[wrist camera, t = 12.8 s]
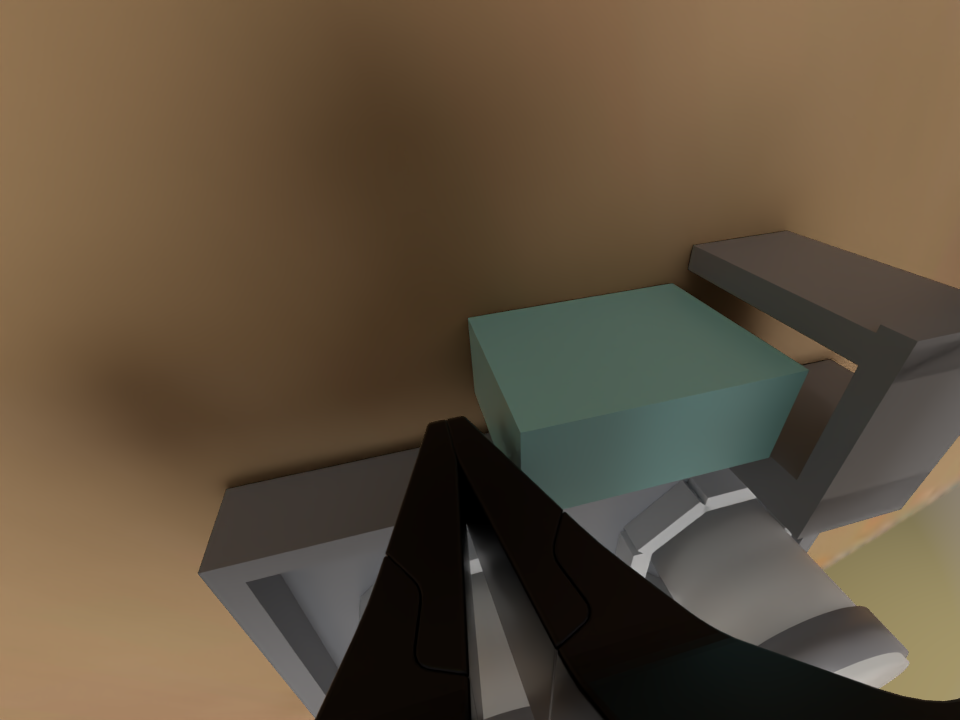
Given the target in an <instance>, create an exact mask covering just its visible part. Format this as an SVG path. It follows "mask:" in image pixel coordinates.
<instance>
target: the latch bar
mask: <svg viewBox="0 0 960 720" xmlns="http://www.w3.org/2000/svg"><path fill="white" fill-rule="evenodd" d="M468 325H469V336H470V347H471V358H472V369H473V380H474V391H475V395H476V397H477V400H478V403H479V405H480V408H481V411H482V414H483V416H484V419H485V422H486V424H487V427H488V430H489V433H490V435H491V438H492V441H493V443H494V445H495V446H496V447H497V448H499V449H500V450H501V451H502V452H503V453H504V454H505V455H506V456H507V457H508V458H509V459H510V460H511V461H512V462H513V463H514V464H515V465H517V466H518V467H519V468H520V469H521V470H522V471H523V472H524V473H525V474H526V475H527V476H528V477H529V478H530V479H531V480H532V481H533V482H535V483H536V484H537V485H538V486H539V487H540V488H541V489H542V490H543V491H544V492H545V493H546V494H547V495H548V496H549V497H550V498H552V499H553V500H554V501H555V502H556V503H557V504H558V505H559V506H560V507H561V508H562V509H567V508H571V507H575V506H579V505H583V504H587V503H591V502H595V501H599V500H603V499H607V498H611V497H615V496H619V495H623V494H627V493H631V492H635V491H639V490H643V489H646V488H650V487H654V486H658V485H662V484H666V483H670V482H674V481H678V480H682V479H686V478H690V477H694V476H698V475H702V474H706V473H710V472H714V471H718V470H722V469H726V468H730V467H734V466H738V465H742V464H746V463H750V462H754V461H758V460H762V459H766V458H769V456H770V454H771V452H772V450H773V448H774V445H775V443H776V441H777V439H778V437H779V435H780V432H781V430H782V428H783V426H784V424H785V422H786V419H787V417H788V415H789V413H790V411H791V409H792V406H793V404H794V402H795V400H796V398H797V395H798V393H799V391H800V389H801V387H802V385H803V382H804V380H805V378H806V376H807V374H808V372H809V370H808V369H807V368H805V367H804V366H802V365H800V364H799V363H797V362H796V361H794V360H793V359H791V358H789V357H788V356H786V355H785V354H783V353H782V352H780V351H778V350H777V349H775V348H774V347H772V346H771V345H769V344H767V343H766V342H764V341H763V340H761V339H760V338H758V337H756V336H755V335H753V334H752V333H750V332H749V331H747V330H745V329H744V328H742V327H741V326H739V325H737V324H736V323H734V322H733V321H731V320H730V319H728V318H726V317H725V316H723V315H722V314H720V313H719V312H717V311H715V310H714V309H712V308H711V307H709V306H708V305H706V304H704V303H703V302H701V301H700V300H698V299H697V298H695V297H693V296H692V295H690V294H689V293H687V292H686V291H684V290H682V289H681V288H679V287H678V286H676V285H675V284H673V283H671V284H665V285H659V286H653V287H647V288H641V289H635V290H629V291H623V292H618V293H612V294H606V295H600V296H594V297H588V298H582V299H576V300H570V301H564V302H558V303H553V304H547V305H541V306H535V307H529V308H523V309H517V310H511V311H505V312H499V313H494V314H488V315H482V316H476V317H470V318H468Z"/></svg>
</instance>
